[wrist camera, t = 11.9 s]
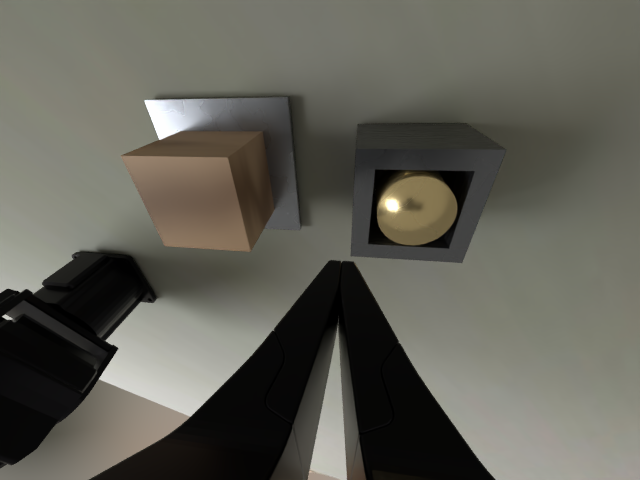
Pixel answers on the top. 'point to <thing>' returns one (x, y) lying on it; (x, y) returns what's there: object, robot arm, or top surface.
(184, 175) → the light brown cube-like block
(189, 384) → the top surface
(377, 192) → the pin
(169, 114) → the plate
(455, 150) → the press block
